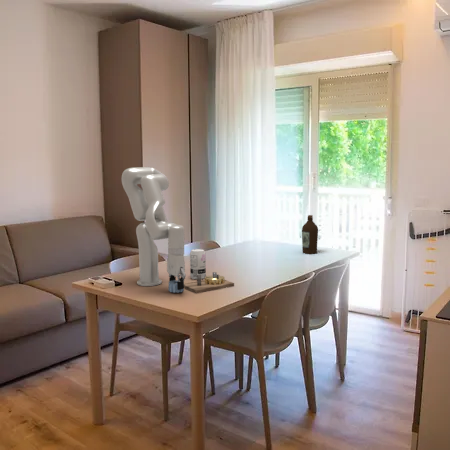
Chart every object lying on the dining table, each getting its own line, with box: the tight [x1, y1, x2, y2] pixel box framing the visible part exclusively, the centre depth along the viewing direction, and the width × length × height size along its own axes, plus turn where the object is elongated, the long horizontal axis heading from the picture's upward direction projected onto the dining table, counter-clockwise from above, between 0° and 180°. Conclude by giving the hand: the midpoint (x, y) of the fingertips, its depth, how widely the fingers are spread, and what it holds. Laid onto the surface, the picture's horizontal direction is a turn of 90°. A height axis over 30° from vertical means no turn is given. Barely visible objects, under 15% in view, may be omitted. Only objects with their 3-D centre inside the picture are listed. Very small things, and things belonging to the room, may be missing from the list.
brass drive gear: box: [204, 271, 226, 285], centre depth 243 cm, size 10×10×5 cm
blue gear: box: [168, 279, 185, 294], centre depth 233 cm, size 7×7×4 cm
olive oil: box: [301, 214, 319, 255], centre depth 321 cm, size 11×11×25 cm
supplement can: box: [189, 248, 207, 280], centre depth 258 cm, size 8×8×15 cm
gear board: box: [184, 275, 235, 294], centre depth 241 cm, size 14×22×6 cm, turn 124°
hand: (176, 287), depth 233 cm, fingers closed on blue gear, 7 cm apart
